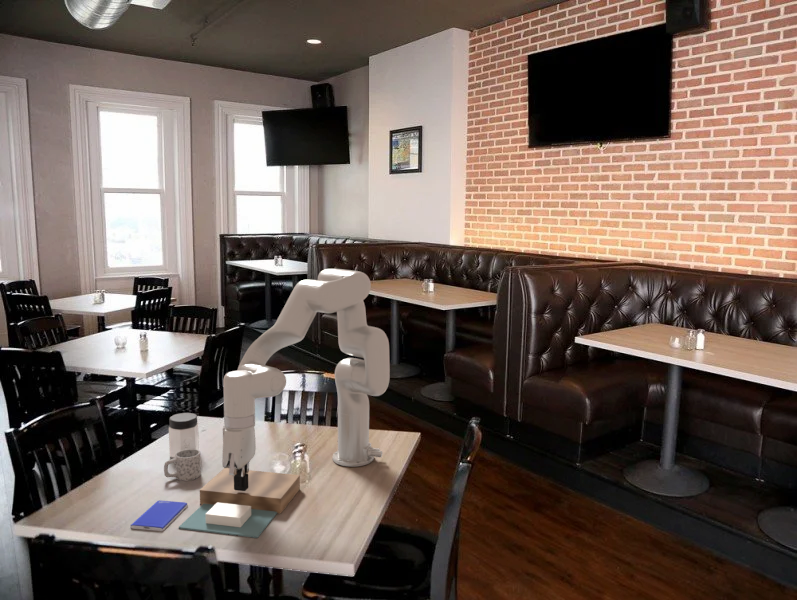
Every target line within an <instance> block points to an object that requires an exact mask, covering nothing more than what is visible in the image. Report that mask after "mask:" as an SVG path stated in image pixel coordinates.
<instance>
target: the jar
mask: <svg viewBox="0 0 797 600" xmlns="http://www.w3.org/2000/svg"><path fill="white" fill-rule="evenodd" d="M168 420H169V421H168V422H169V427H168V443H169V444H168V445H169V447H168V448H169V457H170V458H171V459H173V458H176V456H175V455H176V453H177V452H179V451H181V450H186V449H196V450H199V451H200V440H199V439H200V435H199V422H198V415H197V414H196V413H193V412H192V413H191V412H182V413H176V414H173V415H172V416H170V417H169V419H168Z"/></svg>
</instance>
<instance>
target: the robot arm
mask: <svg viewBox="0 0 797 600" xmlns="http://www.w3.org/2000/svg"><path fill="white" fill-rule="evenodd" d="M371 283H372V282H371V280H370V278H369V276H368V275H367V274H366V273H365V272H362V271H360V270H359V271H358V270H351V269H342V268H324V269H323V270H321V271H320V272H319V273H318V275H317V279H303V280H300V281H298V282H297V283H296V285H295V286H294V287H293V290H292V291H291V292H290V295H289V297H288V298H287V300H286V302H285V305H283V306H284V307H283V308H282V309H281V311H280V314H279V316H278V317H277V319H276V321H275V323H274V325H273V326H271V327H270V328H268V329H267V330H266V331H265V332H263V333H262V334H261V335H260V336H258V338H257V339H255V340H254V341H253V342H252V343H251V344H250V346H249V347H248V348H247V350H246V351H245V353H244V355H243V357H242V359H241V360H240V362H239V365H238V367H237V370H232V371H228V372H226V373H225V375H224V377H223V381H222V382H223V418H224V419H223V420H224V423H223V424H224V425H223V426H224V427H225V432H224V439H223V438H222V461H221V462H222V467H223V469H224V468H227V467H228V466H229V465H230V468H229V475H233V476H234V490H238V491H246V490H247V489H248V474H246V473H248V472H249V470H250V462H251V460H253V458H254V457H255V456H256V449H257V448H256V431H255V427H256V399H261V398H272V397H276V396H278V395H280V394H281V393H282V392H283V391H284V389H285V387H286V385H287V378H286V375H285V373H284V372H283V371H282V370H280V369H278V368H277V367H273V366H269V365H266V364H267V362H268V361H269V360H270V358H271V357H272V356H273V355H274V354H275V353H276V352H278V351H280V350H281V349H283V348H286V347H288V346H289V347H290V346H292V345H295V344H297V343H299V342H301V341H302V340H304V338H305V336H306V334H307V332H308V331H309V328H310V327H311V324H312V323H313V321H314V319H315V317H316V315H317V313H324V314H333V313H336V316H337V337H338V339H337V340H338V341H337V342H338V346H339V349H340V351H341V352H342V353H344V354H346V355H349V356H352V357H347V358H343V359H342V360H340V361H339V362H338V363H337V364H336V366H335V369H334V381H335V382H334V383H335V386H336V392H337V394H336V395H337V451H334V453H333V454H332V460H333V462H334V463H335V464H337V465H340V466H343V467H347V468H348V467H349V468H354V467H356V468H357V467H362V466H363V467H364V466H366V465H369V464H371V463H372V462H373V461H374V457H375V458H383V450H381V449H380V448H378V447H377V448H375V447H373V446H372V442H370V400H369V396H373V397H380V396H382V395H383V394H384V393H385V392H386V391H387V389H388V387H389V383H390V374H391V373H390V372H391V371H390V370H391V369H390V368H391V367H390V342H389V338H388V336H387V333H385V331H384V330H383V329H381V328H379V327H377V326H376V327H375V326H371V325H368V322H367V315H366V314H367V313H366V311H367V310H366V305H365V302H364V300H365V299H366V298H367V297H368V296H369V294H370V291H371V288H372V284H371ZM354 357H355V358H354ZM356 357H357V358H356Z"/></svg>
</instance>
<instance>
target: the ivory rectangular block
mask: <svg viewBox="0 0 797 600" xmlns="http://www.w3.org/2000/svg"><path fill="white" fill-rule="evenodd" d="M250 516H251V506H246V505H237V504H228V503H219V502H217V503H216V504H215V505H214V506H213V507H212V508H211V509H210V510H209V511H208V512H207V513H206V523H208V524H216V525H225V526H233V527H241V526H242V525H243V524H244V523H245V522H246V521H247V520H248V518H249V517H250Z"/></svg>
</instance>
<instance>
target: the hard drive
mask: <svg viewBox="0 0 797 600" xmlns="http://www.w3.org/2000/svg"><path fill="white" fill-rule="evenodd" d="M187 507H188V503H187V502H185V501H173V500H170V501H169V500H161V499H160V500H156V501H155V503H153V504H152V505H151V506H150V507H149V508H147V510H146V511H145V512H143V513H142V514H141V515H140V516H138V518H137V519H135V520H134V522H132V523H131V524H130V529H136V530H147V531H158V532H164V531H165V530H166V529H167V527H169V525H170V524H171V523H172V522H173V521H174V520H175V519H177V518H178V516H179V515H180V514H181V513H183V511H185V509H187Z"/></svg>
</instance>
